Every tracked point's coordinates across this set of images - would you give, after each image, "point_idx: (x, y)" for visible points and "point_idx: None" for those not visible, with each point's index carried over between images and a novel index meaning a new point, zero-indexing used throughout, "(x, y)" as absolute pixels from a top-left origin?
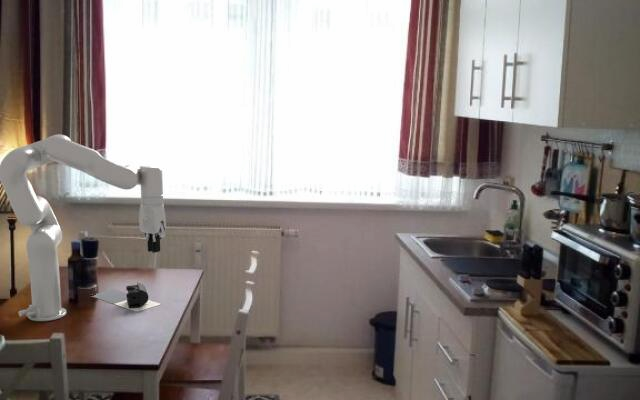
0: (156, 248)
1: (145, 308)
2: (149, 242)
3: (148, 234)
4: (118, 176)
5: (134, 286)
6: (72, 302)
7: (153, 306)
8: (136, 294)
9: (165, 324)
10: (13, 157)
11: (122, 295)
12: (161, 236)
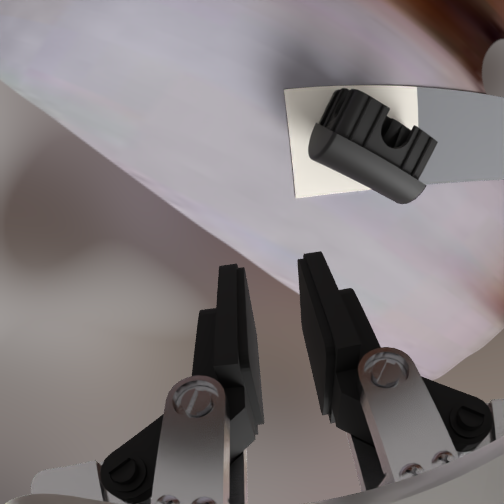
0: (201, 324)
1: (294, 130)
2: (323, 341)
3: (382, 451)
4: None
5: (407, 157)
6: (496, 31)
7: (293, 164)
8: (339, 119)
9: (94, 111)
10: None
11: (459, 158)
12: (58, 473)
